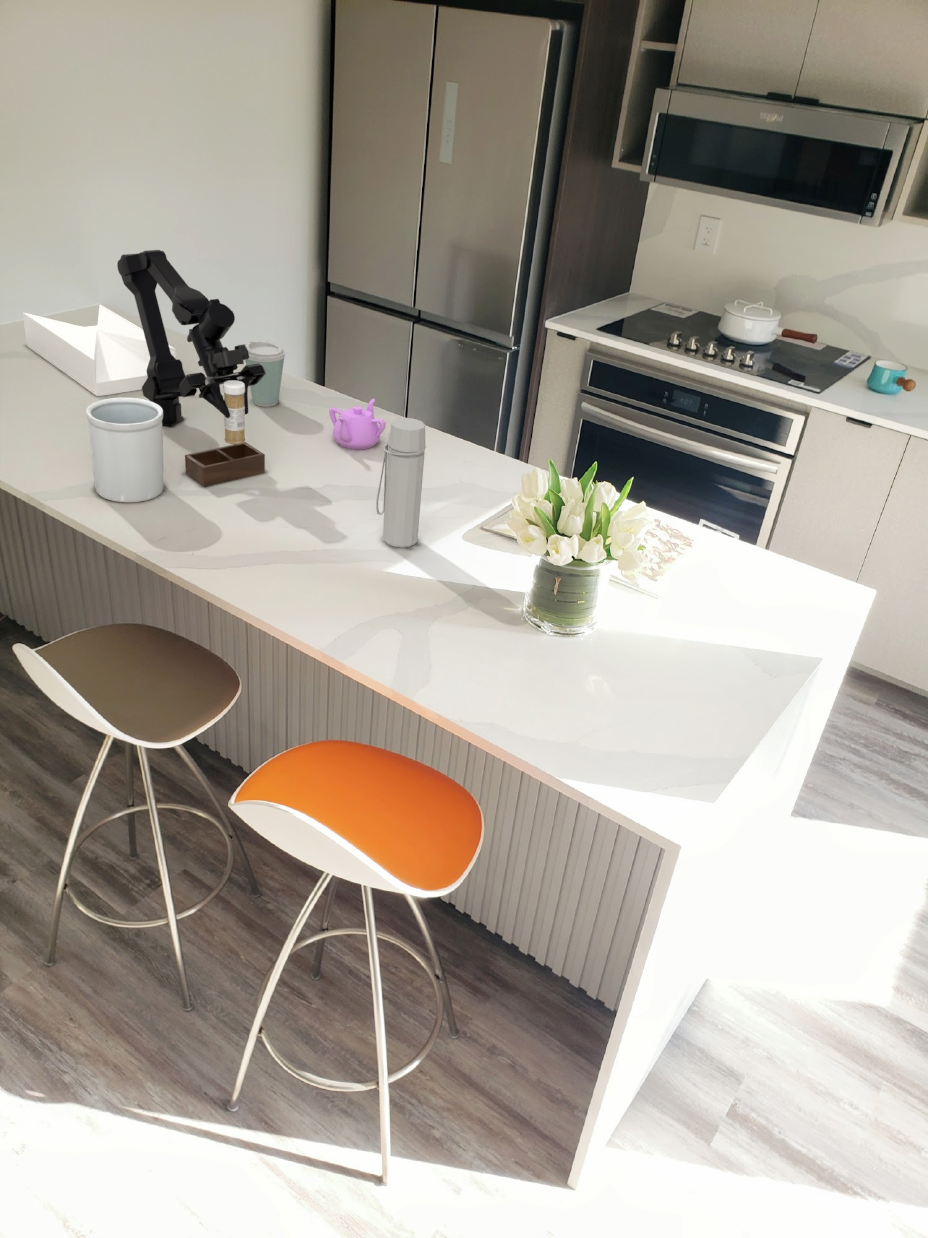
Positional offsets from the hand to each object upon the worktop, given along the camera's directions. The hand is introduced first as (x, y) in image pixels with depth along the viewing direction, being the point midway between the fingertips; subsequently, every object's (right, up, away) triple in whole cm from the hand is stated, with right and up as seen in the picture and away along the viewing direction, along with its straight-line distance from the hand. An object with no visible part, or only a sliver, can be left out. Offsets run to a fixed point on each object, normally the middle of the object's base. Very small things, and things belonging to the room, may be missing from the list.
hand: (237, 415), depth 220 cm
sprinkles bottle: (-2, -5, +4) cm, 7 cm away
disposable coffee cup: (-3, +12, +44) cm, 45 cm away
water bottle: (+35, -28, -15) cm, 48 cm away
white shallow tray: (-50, +25, +56) cm, 79 cm away
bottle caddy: (-4, -12, +4) cm, 13 cm away
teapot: (+23, -1, +27) cm, 36 cm away
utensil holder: (-21, -17, -7) cm, 28 cm away
